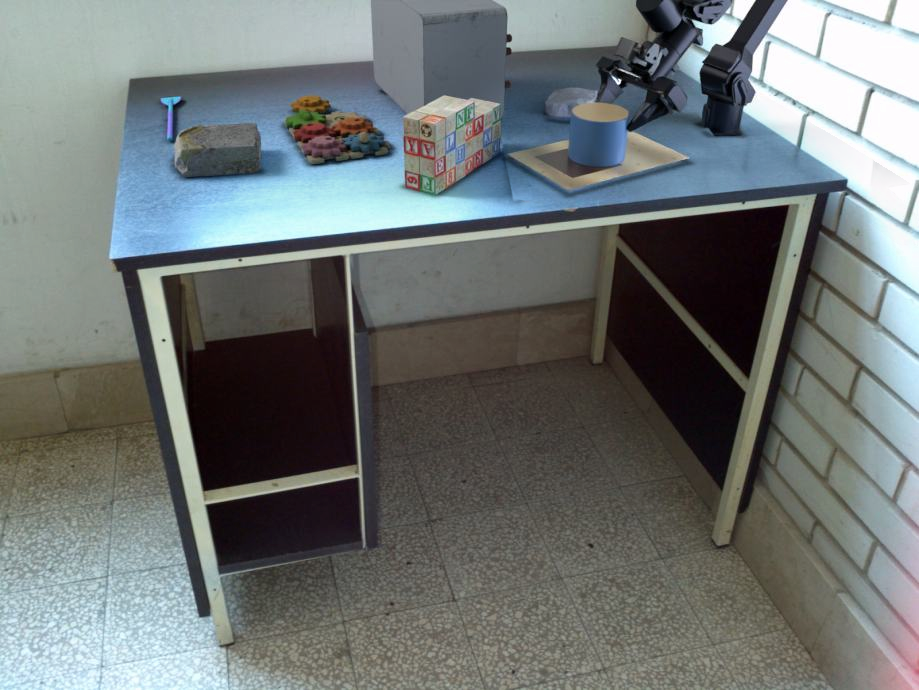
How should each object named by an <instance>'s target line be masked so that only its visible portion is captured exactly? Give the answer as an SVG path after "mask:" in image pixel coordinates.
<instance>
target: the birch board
mask: <svg viewBox="0 0 919 690" xmlns="http://www.w3.org/2000/svg"><path fill="white" fill-rule="evenodd" d="M568 146H569V139H565V140H560V141H556V142H552V143H548V144H544V145H538V146H535V147H530V148H527V149H523V150H519V151H514V152H510V153H506V155H508V156H509V157H511V158H512V159H514V160H516V161H518V162H519V163H521V164H523V165H525V166H527V167H528V168H529V169H532V170H533V171H535V172H536V173H538V174H540V175H542V176H544V177H545V178H547V179H548V180H551V181H552V182H554V183H556V184H557V185H559V186H561V187H562V188H563V189H566V190H567V191H571V190H575V189H579V188H582V187H586V186H589V185H593V184H597V183H601V182H605V181H608V180H612V179H616V178H619V177H623V176H627V175H631V174H634V173H635V174H636V173H638V172H643V171H646V170H650V169H653V168H656V167H661V166H665V165H668V164H673V163H676V162H679V161H684V160H687V159H688V160H689V159H690V157H689V156H687V155H684V154H683V153H680V152H679V151H676V150H674V149H672V148H670V147H667V146H665V145H663V144H661V143H659V142H657V141H654V140H653V139H650V138H648V137H646V136H644V135H642V134H639V133H638V132H635V131H634V130H633V131H632V132H629V131H628V134H627V142H626V151H625V159H624V161H623V162H621V163H620V164H617V165H614V166H609V167H592V166H585V165H581V164H578V163H576V162H574V161H572V160H571V159H570V158H569V157H568Z"/></svg>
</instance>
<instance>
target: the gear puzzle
mask: <svg viewBox="0 0 919 690" xmlns="http://www.w3.org/2000/svg"><path fill="white" fill-rule="evenodd" d="M331 108H332V105H331V104H330V101H329V100H328V99H324V98H323V99H322V98H321V96H318V95H316V94H313V95H312V94H311V95H310V94H307V95H302V96H301V97H299V98H296V100H295V101H294V102H291V103H290V109H291V112H292V113H293V114H292V115H291V116H290V115H289V116H288V117H285V119H284V121H283V122H284V126H285V127H286V128H287V129H288V128H289V130H288V131H289V133H290V135H291V136H292V139H293V140H294V141H295V142H297V147H299V149H301V153H302V154H303V156H306V160H307V162H308V163H309V164H311V165H317V164H324V163H325V160H335V161H336V162H340V161H347V160H349V159H353V160H354V159H355V160H356V159H362V158H364V155H371V154H374V155H375V156H382V155H387V154H388V153H389V149H391V148H392V147H391V146H392V144H391V143H390V142H389V141H388V140H385V137H384V136H383V135H380V130H379V129H378V128H377V127H376V126H374V123H373V122H369V120H368V119H369V118H368V117H367V115H365V114H363V115H359V114H358V113H357V112H356V111H348V112H343V111H342V110H339V111H338V110H337V111H331V113H330V114H325V113H326V111H327V110H330V109H331Z"/></svg>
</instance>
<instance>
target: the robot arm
mask: <svg viewBox="0 0 919 690" xmlns="http://www.w3.org/2000/svg"><path fill="white" fill-rule="evenodd" d="M788 1H789V0H754V2H753V3H752V5H751V6H750V8H749V10H748V11H747V13H746V14H745V16H744V17H743V19H742V21H741V22H740V24H739V25H738V27H737V29H736V30H735V32H734V34H733V35H732V37H731V38H730V39H729V40H728V41H727V42H726V43H724V44H720V43H715V44H714V45H712V47H711V49H710V50H709V51H708V52H709V53H708V55H707V56H706V57H705V59H703V60H702V61H701V64H702V65H701V67H700V69H699V73H698V74H699V82H700V90H701V94H702V95H704V96H707V99H706V103H704V104H703V107H702V112H701V119H700V124H701V125H702V127H703V128H704V129H709V131H710V132H711V134H712V135H713V136H742V135H743V131H742V130H741V122H742V118H743V113H744V107H746V106H747V105H748V104H751V103H752V102H753V100H754V97H755V95H756V89H755V88H754V86H753V85H752V83H751V81H750V80H749V79H750V76H751V74H752V72H753V65H754V64H753V63H754V54H755V52H756V51H757V49H758V48H759V46H760V45H761V43H762V41H763V40H764V38H765V37H766V35H768V32H769V31H770V29H771V28H772V26H773V24H774V23H775V21H776V20H777V18H778V16H779V15H780V13H781V12H782V10H783V8H784V7H785V6H786V5H787V3H788ZM732 4H733V0H635V7H636V10H637V11H638V12H639V13H640V15H641V16H642V18H643V19H644V21H645V22H646V24H647V25H648V26H649V28H650V29H651V31H652V32H653V33H657V34H656V36H655V37H654V38H653V39H652V41H650V40H646V41H643V42H642V43H639V42H637V41H635V40H631V39H629V38H626V37H623V36H620V38H619V40H618V43H617V45H616V48H615V50H614V52H613V56H612V55H609V54H606V55H602V56H601V58H599V60H598V61H597V63H596V64H595V66H596V68H597V69H598V70H597V72H598V74H599V75H600V85H599V90H598V92H597V99H596V102H595V103H609V104H613V103H614V102H615V100H617V99H618V98H619V97H620V96H621V95H622V94H624V90H623V89H624V88H626V87H628V86H629V85H633V86H635V87H638V88H639V89H642V90H645V91H646V95H645V99H644V101H643V103H642V104H641V106H640V107H639V108H638V110H637V111H636V113H635V114H634V115H633V116H632V118H631V120H629V124H628V126H627V128H626V129H627V130H628V131H629V132H632V131H633V132H634V131H636V130H637V129H639V128H641V127H643V126H645V125H647V124H649V123H651V122H653V121H655V120H657V119H660V118H662V117H665V116H667V115H671V116H672V115H673V114H674V112H676V113H678V114H680V113H682V111H683V110H684V108H685V107H686V106H687V103H688V95H687V94H686V93H685V91H684V90H683V88H682V87H681V85H680V84H679V83H678V81H677V80H674V79H672V78H669V77H667V76H668V75H670V73H671V72H673V73H677V72H678V70H679V69H680V66H679V65H678V62H679V61H680V60H681V59H682V58H683V56H684V55H685V53H686V52H687V51H688V49H689V48H690V47H691V46H692V44H693V45H695V46H699V47H702V46H703V45H704V36H703V33H704V30H703V28H700V27H697V26H696V25H695V23H694V21H696V22H698V23H701V24H704V25H711V26H712V25H714V24H717V22H718V21H719V20H721V18H722V17H723V16H724V15H725V14H726V13H727V12H728V10H729V9H730V8H731V6H732ZM618 57H620V58H622V59H624V60H626V61H625V63H624V62H623V61H622V59H620V58H618ZM625 64H626V65H625ZM627 67H628V68H630V70H629V69H628V68H627Z"/></svg>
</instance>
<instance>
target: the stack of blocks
mask: <svg viewBox="0 0 919 690" xmlns="http://www.w3.org/2000/svg"><path fill="white" fill-rule="evenodd" d="M402 117H403V118H402V122H403V124H402V125H403V136H402V137H403V153H404V154H403V155H404V156H403V157H404V186H405V188H408V189H411V190H414V191H415V190H416V191H419V192H423V193H426V194H430V195H433V196H437V195H438V194H439V193H441V192H443V191H445V190H446V189H448V188H449V187H451V186H452V185H454V184H456V183H457V182H458V181H459V182H460V181H461V180H462V179H463V178H464V177H466V176H467V175H468V174H470V173H472V172H473V171H474V170H476V169H478V168H479V167H481V166H482V165H484V164H485V163H487V162H488V161H490V160H492V159H493V158H495V157H496V156H498V155H499V154H500V153H501V136H502V121H501V120H502V119H501V104H499V103H494V102H490V101H484V100H479V99H474V98H470V99H469V100H465V99H460V98H454V97H450V96H445V95H444V96H442V97H440V98H438V99H436V100H435V101H433V102H431V103H429V104H427V105H426V106H423V107H421V108H420V109H418V110H416V111H415V112H411V113H409V114H405V115H403V116H402Z"/></svg>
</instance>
